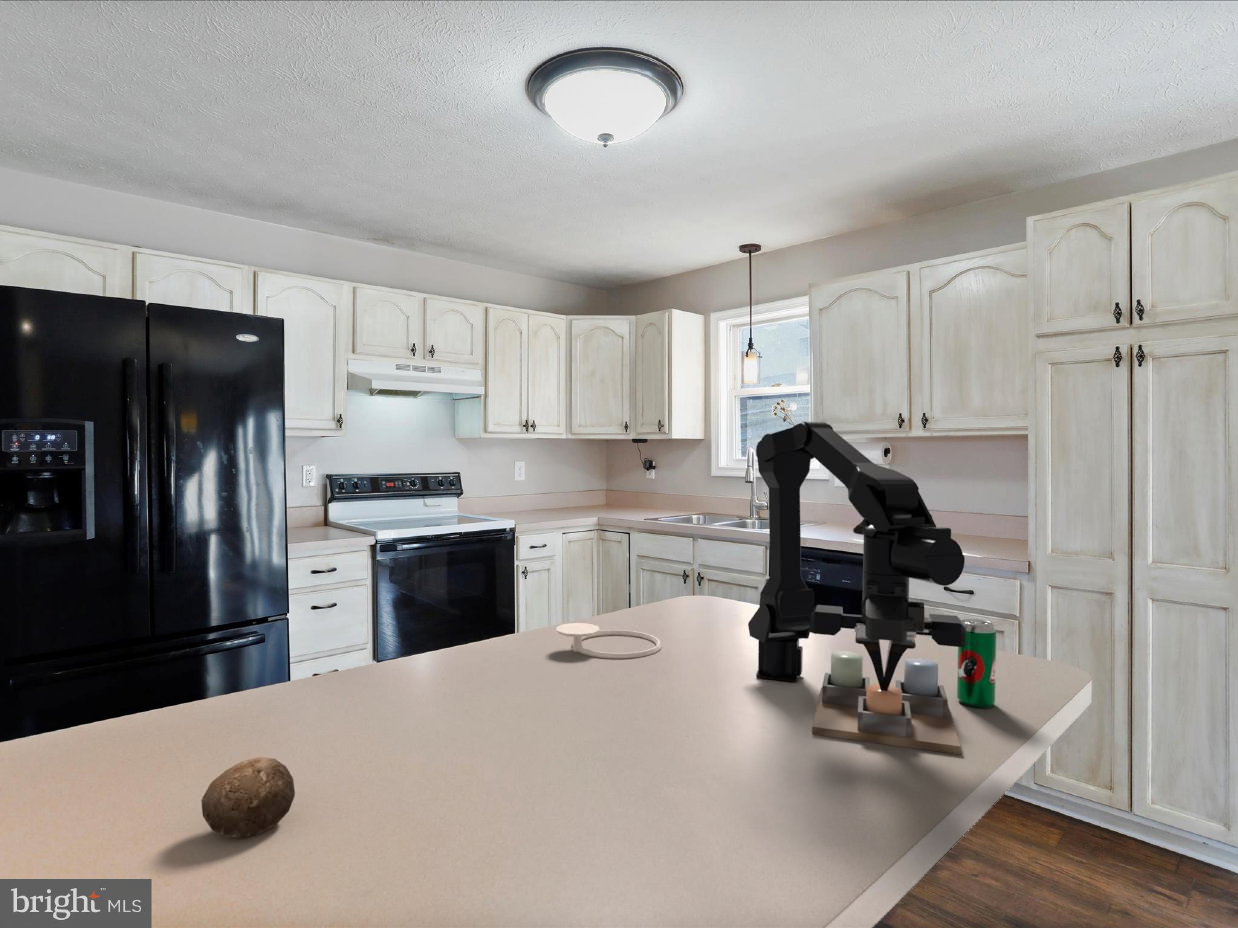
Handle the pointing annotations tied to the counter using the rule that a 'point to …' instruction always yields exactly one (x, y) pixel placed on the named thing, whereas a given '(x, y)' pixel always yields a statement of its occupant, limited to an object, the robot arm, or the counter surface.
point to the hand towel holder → (589, 630)
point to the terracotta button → (884, 700)
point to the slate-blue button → (921, 677)
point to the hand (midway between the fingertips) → (884, 689)
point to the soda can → (977, 665)
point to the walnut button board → (886, 718)
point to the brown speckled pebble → (248, 798)
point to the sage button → (846, 669)
